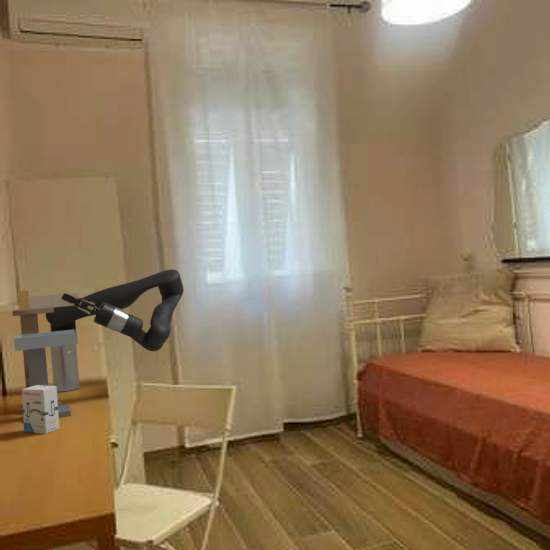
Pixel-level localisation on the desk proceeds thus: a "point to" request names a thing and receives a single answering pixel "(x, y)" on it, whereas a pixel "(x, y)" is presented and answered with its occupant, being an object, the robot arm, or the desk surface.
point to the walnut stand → (30, 327)
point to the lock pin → (42, 301)
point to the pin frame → (44, 356)
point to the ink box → (40, 409)
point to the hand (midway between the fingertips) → (62, 296)
